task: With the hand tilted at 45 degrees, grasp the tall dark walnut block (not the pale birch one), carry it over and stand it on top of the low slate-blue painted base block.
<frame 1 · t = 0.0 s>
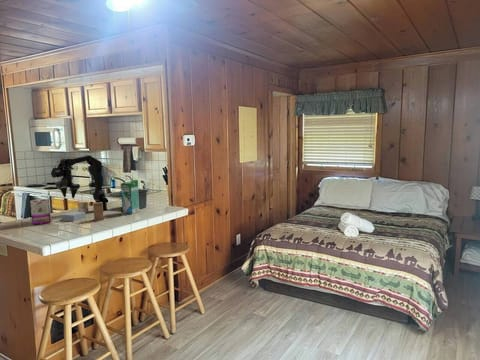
hand: (68, 197, 255), 15 cm above the table, tool pointing down, fingers open, 9 cm apart
milk carton: (131, 212, 270), on the table
walnut block: (99, 219, 248), on the table
base block: (73, 219, 252), on the table
candy bar box: (41, 223, 241), on the table
storage bin: (135, 207, 291), on the table
birch block: (83, 212, 274), on the table
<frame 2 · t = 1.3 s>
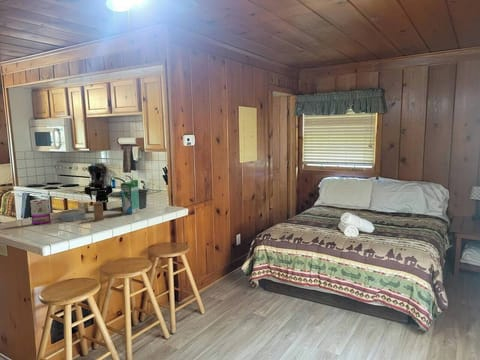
hand: (98, 199, 254), 13 cm above the table, tool tilted 45°, fingers open, 9 cm apart
nothing on the table moved.
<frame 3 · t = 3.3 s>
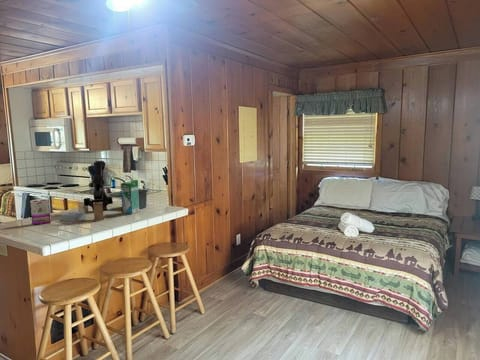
hand: (98, 210, 246), 7 cm above the table, tool tilted 45°, fingers closed on walnut block, 5 cm apart
walnut block: (99, 219, 248), on the table, touching gripper
everything else where it was.
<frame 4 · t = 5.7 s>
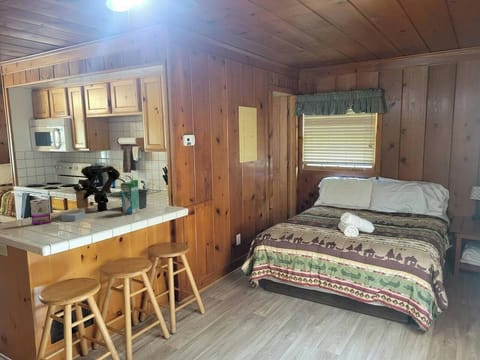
hand: (80, 198, 257), 13 cm above the table, tool tilted 45°, fingers closed on walnut block, 5 cm apart
walnut block: (82, 207, 259), point 7 cm above the table, touching gripper
everything else where it was.
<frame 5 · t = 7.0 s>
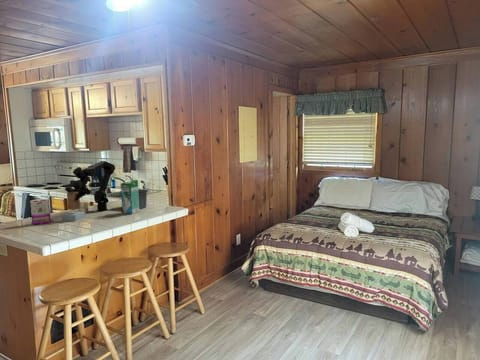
hand: (72, 200, 250), 14 cm above the table, tool tilted 45°, fingers closed on walnut block, 5 cm apart
walnut block: (74, 209, 252), point 7 cm above the table, touching gripper
everything else where it was.
when the fingers open (12 cm above the table, at t = 8.0 s): walnut block drops 2 cm, resting on base block.
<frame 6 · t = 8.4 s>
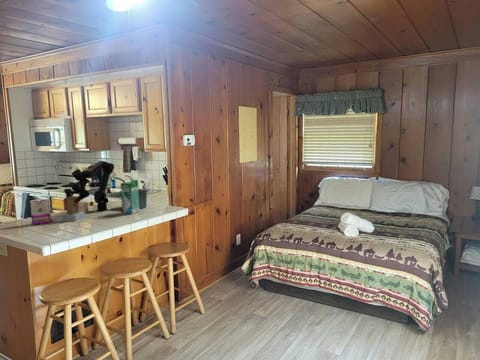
hand: (71, 202, 249), 12 cm above the table, tool tilted 45°, fingers open, 9 cm apart
walnut block: (73, 213, 251), point 4 cm above the table, touching base block
base block: (73, 219, 252), on the table, touching walnut block
everything else where it was.
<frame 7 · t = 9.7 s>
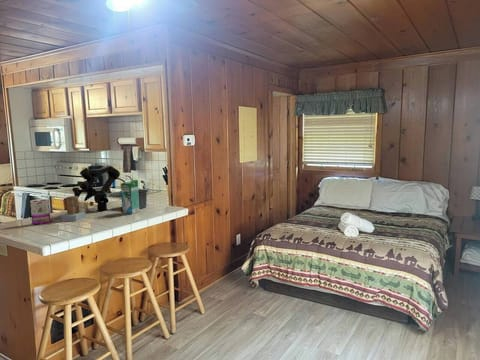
hand: (79, 200, 257), 12 cm above the table, tool tilted 45°, fingers open, 9 cm apart
nothing on the table moved.
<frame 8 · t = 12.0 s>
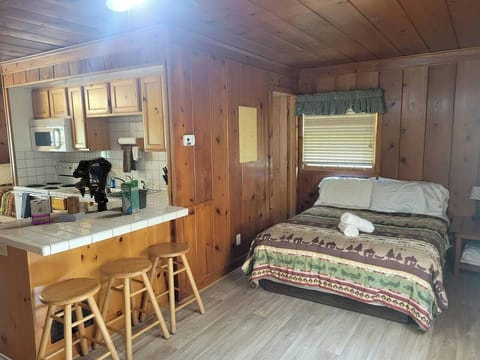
hand: (87, 197, 264), 13 cm above the table, tool pointing down, fingers open, 9 cm apart
nothing on the table moved.
at the end: walnut block inside the target area on the base block (0.2 cm from its centre), point 4.6 cm above the base block's base; walnut block tilted 1°; the gripper is holding nothing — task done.
